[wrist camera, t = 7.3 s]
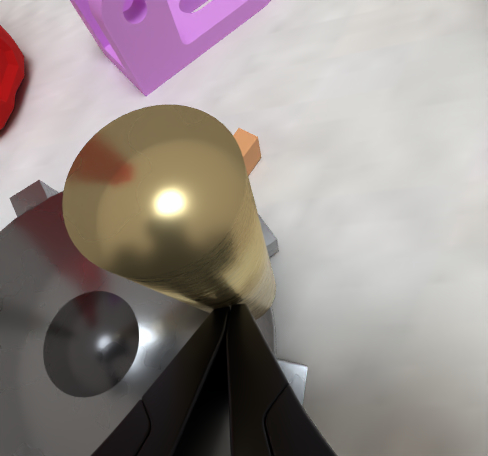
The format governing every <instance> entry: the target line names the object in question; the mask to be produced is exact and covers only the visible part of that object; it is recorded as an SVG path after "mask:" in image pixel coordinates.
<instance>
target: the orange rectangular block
mask: <svg viewBox="0 0 488 456" xmlns="http://www.w3.org/2000/svg"><path fill="white" fill-rule="evenodd" d="M233 137H234V138H235V140H236V141H237V143H238V145H239V147H240V150H241V152H242V156H243V159H244V163H245V167H246V170H247V174H248V175H249V174H250V173H251V171H252V170H253V168H254V167H255V165H256V164H257V163H258V161H259V160H260V158H261V153H260V147H259V141H258V137H257V136H255V135H253V134H251V133H248V132H246V131H244V130H242V129H240V128H238V130H237V131H236V133H235V134H234V135H233Z"/></svg>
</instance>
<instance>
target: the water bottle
mask: <svg viewBox="0 0 488 456" xmlns="http://www.w3.org/2000/svg"><path fill="white" fill-rule="evenodd" d="M23 78H24V56H23V54H22V52H21V51H20V49H19V48H18V46H17V44H16V43H15V41H14V40H13V39H12V37H11V36H10V35H9V34H8V33H7V32H6V31H5V30H4V29H3V27H2V26H1V25H0V129H2V128H3V127H4V126H5V124H6V122H7V120H8V118H9V116H10V114H11V112H12V110H13V108H14V103H15V94H16V92H17V90H18V88H19V86H20V84H21V82H22V80H23Z"/></svg>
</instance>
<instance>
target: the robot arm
mask: <svg viewBox="0 0 488 456" xmlns="http://www.w3.org/2000/svg"><path fill="white" fill-rule="evenodd" d="M90 456H337V455H336V454H335V452H334V451H333V450H332V448H331V447H330V446H329V444H328V443H327V442H326V440H325V439H324V438H323V436H322V435H321V434H320V432H319V431H318V429H317V428H316V426H315V425H314V423H313V422H312V421H311V419H310V418H309V416H308V415H307V413H306V411H305V410H304V408H303V406H302V405H301V403H300V401H299V400H298V398H297V396H296V394H295V392H294V391H293V389H292V387H291V386H290V384H289V382H288V380H287V378H286V376H285V374H284V373H283V371H282V369H281V367H280V365H279V363H278V361H277V360H276V358H275V356H274V354H273V352H272V350H271V349H270V347H269V345H268V343H267V341H266V339H265V337H264V336H263V334H262V332H261V330H260V328H259V326H258V325H257V323H256V321H255V319H254V317H253V315H252V314H251V312H250V310H249V308H248V306H247V305H246V304H245V303H242V304H234V305H232V306H231V307H230V306H227V307H223V308H217V309H213V310H212V312H211V313H210V314H209V315H208V317H207V318H206V319H205V320H204V321H203V323H202V324H201V325H200V326H199V328H198V329H197V330H196V331H195V333H194V334H193V335H192V336H191V337H190V339H189V340H188V341H187V342H186V344H185V345H184V346H183V347H182V348H181V350H180V351H179V352H178V353H177V355H176V356H175V357H174V358H173V359H172V361H171V362H170V363H169V364H168V366H167V367H166V368H165V369H164V370H163V372H162V373H161V374H160V375H159V377H158V378H157V379H156V380H155V381H154V383H153V384H152V385H151V386H150V388H149V389H148V390H147V391H146V392H145V394H144V395H143V396H142V400H139V401H138V402H137V403H136V405H135V406H134V407H133V408H132V409H131V411H130V412H129V413H128V414H127V415H126V417H125V418H124V419H123V420H122V421H121V422H120V424H119V425H118V426H117V427H116V428H115V429H114V431H113V432H112V433H111V434H110V435H109V436H108V437H107V438H106V439H105V440H104V441H103V442H102V444H101V445H100V446H99V447H98V448H97V449H96V450H95V451H94V452H93V453H92V454H91V455H90Z"/></svg>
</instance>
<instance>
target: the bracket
mask: <svg viewBox="0 0 488 456" xmlns="http://www.w3.org/2000/svg"><path fill="white" fill-rule="evenodd" d="M70 1H71V3H72V5H73V6H74V8H75V9H76V11H77V12H78V14H79V15H80V17H81V19H82V20H83V22H84V23H85V25H86V26H87V28H88V30H89V31H90V33H91V34H92V36H93V37H94V39H95V40H96V42H97V44H98V45H99V47H100V48H101V50H102V51H103V53H104V54H105V55H106V56H107V57H108V58H109V59H110V60H111V61H112V62H113V63H114V64H115V65H116V66H117V67H118V68H119V69H120V71H121V72H122V73H123V74H124V75H125V76H126V77H127V78H128V79H129V80H130V81H131V82H132V83H133V84H134V85H135V86H136V87H137V88H138V89H139V90H140V91H141V92H142V93H143V94H144V95H145V96H147V95H149V94H150V93H151V92H153V91H154V90H155V89H156V88H158V87H159V86H160V85H162V84H163V83H164V82H166V81H167V80H168V79H170V78H171V77H172V76H174V75H175V74H176V73H178V72H179V71H180V70H182V69H183V68H184V67H186V66H187V65H188V64H190V63H191V62H192V61H194V60H195V59H196V58H198V57H199V56H200V55H202V54H203V53H204V52H206V51H207V50H208V49H210V48H211V47H212V46H214V45H215V44H216V43H218V42H219V41H220V40H222V39H223V38H224V37H226V36H227V35H228V34H230V33H231V32H232V31H234V30H235V29H236V28H238V27H239V26H240V25H242V24H243V23H244V22H246V21H247V20H248V19H249V18H251V17H252V16H253V15H255V14H256V13H257V12H259V11H260V10H261V9H263V8H264V7H265V6H266V5H267V4H268V3H269V2H270V1H271V0H213V1H211V2H210V3H209V4H207V5H206V6H205V7H203V8H202V9H200V10H199V11H197V12H194V13H191V12H193V11H194V10H195V9H197V8H198V7H199V6H201V5H202V4H204V3H205V2H206V1H208V0H70Z"/></svg>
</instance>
